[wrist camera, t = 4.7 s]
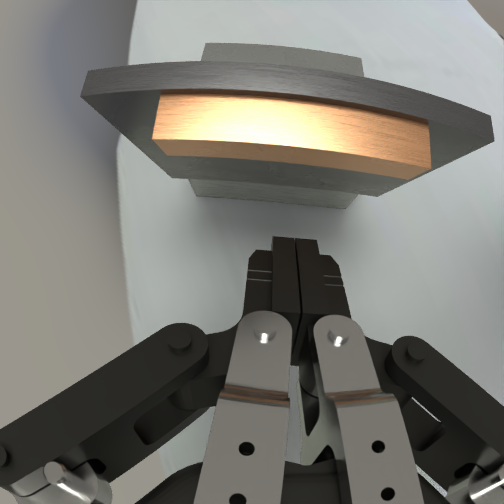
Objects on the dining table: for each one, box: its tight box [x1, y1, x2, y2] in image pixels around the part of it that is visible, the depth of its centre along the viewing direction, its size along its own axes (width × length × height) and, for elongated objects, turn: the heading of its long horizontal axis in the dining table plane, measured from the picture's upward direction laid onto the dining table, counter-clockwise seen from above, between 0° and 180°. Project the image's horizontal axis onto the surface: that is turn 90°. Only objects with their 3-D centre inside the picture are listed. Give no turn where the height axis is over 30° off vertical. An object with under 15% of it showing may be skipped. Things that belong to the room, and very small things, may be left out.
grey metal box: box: [189, 43, 364, 209], centre depth 30 cm, size 16×14×9 cm
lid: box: [81, 61, 494, 197], centre depth 17 cm, size 17×15×3 cm
